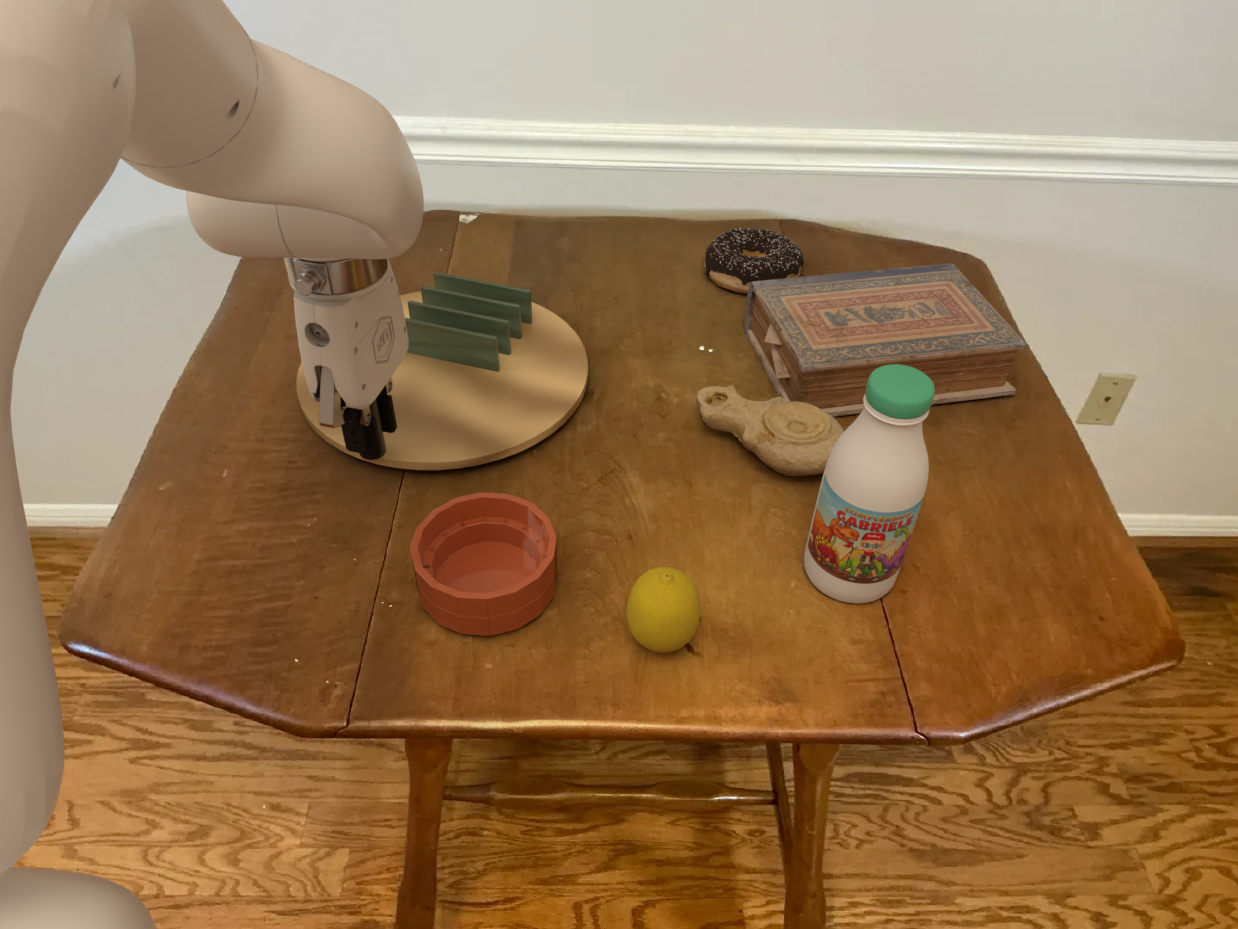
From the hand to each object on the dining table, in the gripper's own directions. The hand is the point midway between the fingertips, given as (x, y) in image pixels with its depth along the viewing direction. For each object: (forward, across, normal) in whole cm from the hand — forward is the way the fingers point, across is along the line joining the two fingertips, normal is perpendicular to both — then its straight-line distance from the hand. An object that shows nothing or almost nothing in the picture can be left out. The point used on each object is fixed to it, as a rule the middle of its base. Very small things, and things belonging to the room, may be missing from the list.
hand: (372, 438), depth 85 cm
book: (+4, +29, -43) cm, 52 cm away
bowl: (+4, -10, -14) cm, 18 cm away
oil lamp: (+4, +12, -35) cm, 37 cm away
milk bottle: (+4, -2, -43) cm, 43 cm away
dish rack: (+3, +14, -1) cm, 14 cm away
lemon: (+4, -13, -29) cm, 32 cm away
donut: (+4, +43, -29) cm, 52 cm away
